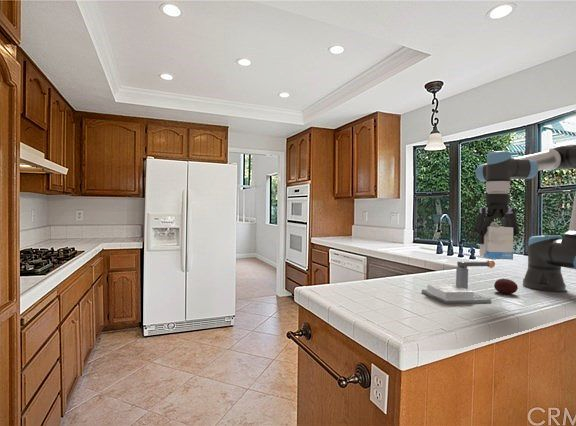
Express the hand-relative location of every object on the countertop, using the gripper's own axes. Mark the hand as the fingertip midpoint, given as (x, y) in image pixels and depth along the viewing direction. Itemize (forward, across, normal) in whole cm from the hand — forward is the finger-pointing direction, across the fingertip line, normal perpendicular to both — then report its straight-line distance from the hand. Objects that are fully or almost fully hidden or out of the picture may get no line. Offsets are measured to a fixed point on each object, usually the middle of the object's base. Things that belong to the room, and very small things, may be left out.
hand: (495, 253), depth 124 cm
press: (+18, +12, -6) cm, 22 cm away
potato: (+18, -13, -10) cm, 24 cm away
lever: (+8, -1, -11) cm, 13 cm away
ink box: (+2, 0, 0) cm, 2 cm away
